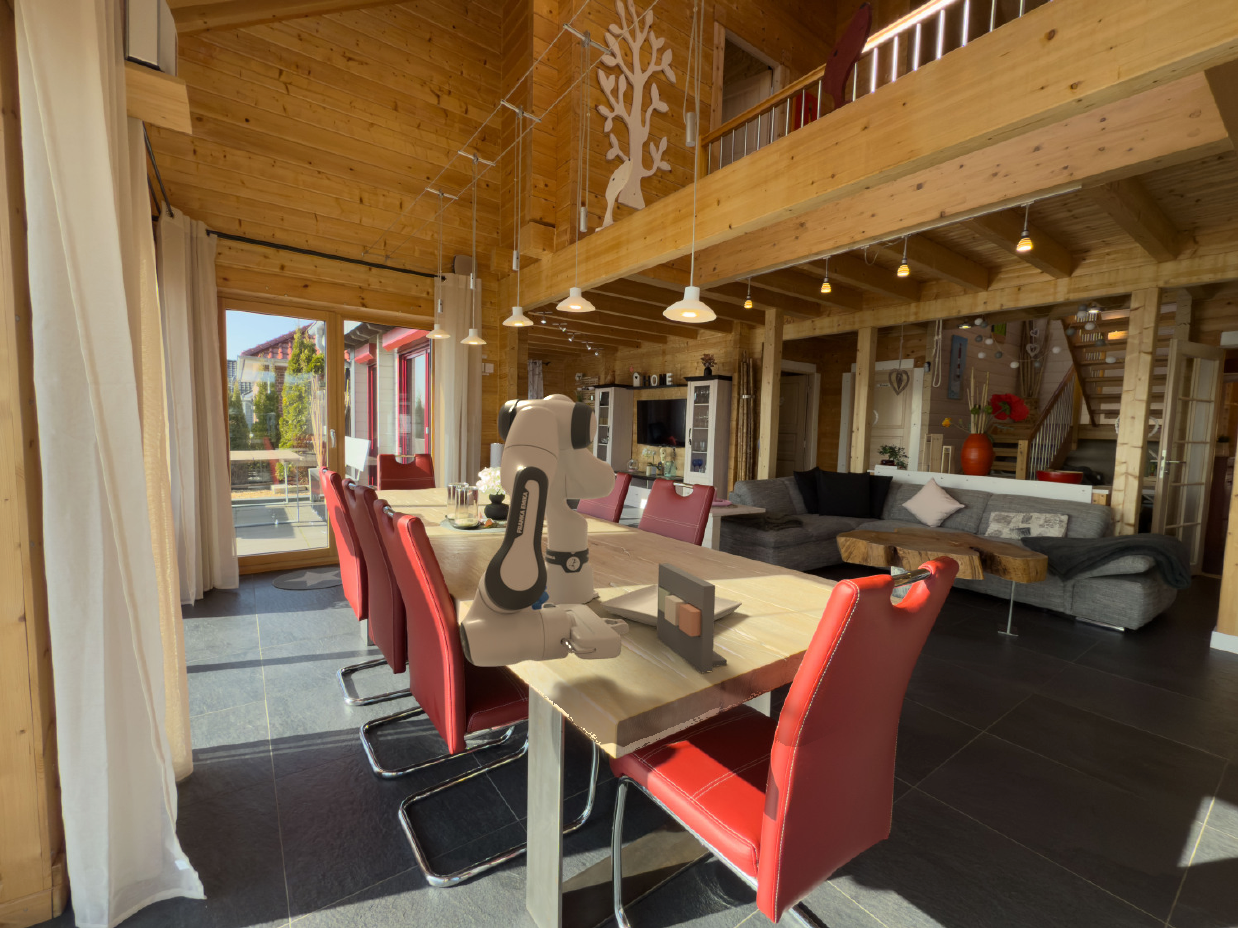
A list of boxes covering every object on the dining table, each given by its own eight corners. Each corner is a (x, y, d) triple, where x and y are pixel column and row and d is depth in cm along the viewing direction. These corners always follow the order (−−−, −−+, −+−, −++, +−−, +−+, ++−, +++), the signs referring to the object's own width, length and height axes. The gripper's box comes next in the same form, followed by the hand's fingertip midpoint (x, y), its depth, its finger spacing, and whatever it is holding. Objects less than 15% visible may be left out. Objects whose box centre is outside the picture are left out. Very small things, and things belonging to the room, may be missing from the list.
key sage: (658, 608, 125) (658, 587, 124) (674, 606, 126) (674, 585, 126) (667, 614, 120) (668, 593, 120) (684, 613, 122) (684, 591, 121)
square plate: (691, 643, 124) (691, 625, 124) (597, 617, 141) (597, 601, 141) (742, 614, 146) (743, 599, 146) (655, 594, 162) (656, 581, 162)
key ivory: (664, 618, 118) (665, 595, 118) (681, 616, 119) (681, 594, 119) (674, 625, 113) (675, 602, 113) (692, 623, 115) (692, 600, 115)
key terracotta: (679, 628, 112) (679, 604, 112) (696, 626, 113) (697, 603, 113) (690, 636, 107) (691, 612, 107) (708, 634, 109) (709, 610, 109)
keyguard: (656, 637, 126) (658, 563, 125) (684, 634, 129) (686, 561, 128) (701, 673, 107) (703, 586, 107) (732, 668, 110) (735, 583, 109)
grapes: (537, 628, 130) (538, 578, 129) (512, 625, 132) (512, 575, 132) (559, 614, 141) (560, 567, 140) (535, 611, 143) (536, 565, 143)
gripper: (571, 635, 90) (649, 626, 95) (541, 600, 109) (607, 595, 114) (570, 673, 90) (648, 663, 95) (540, 632, 109) (606, 625, 114)
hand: (625, 625), depth 105 cm, fingers closed
